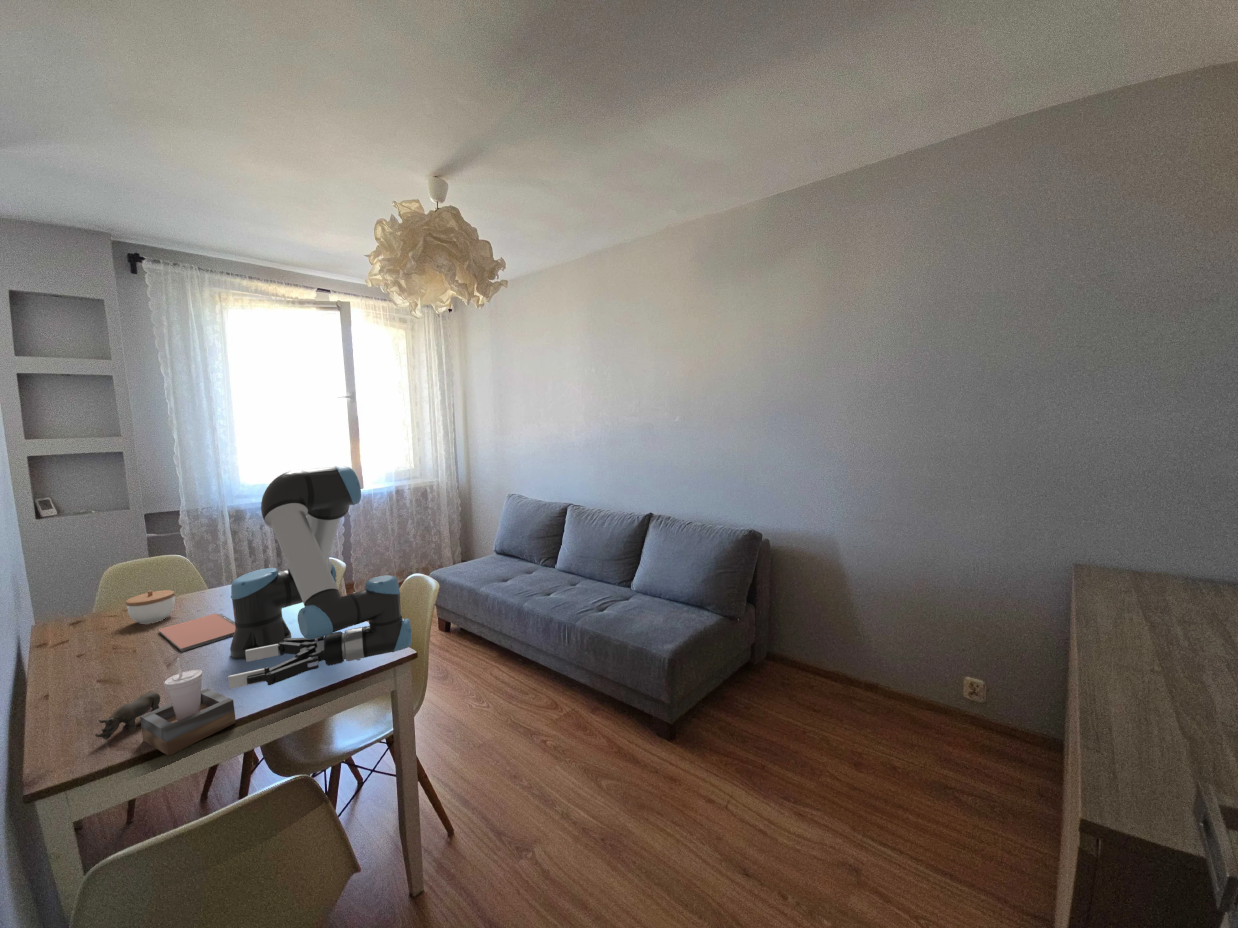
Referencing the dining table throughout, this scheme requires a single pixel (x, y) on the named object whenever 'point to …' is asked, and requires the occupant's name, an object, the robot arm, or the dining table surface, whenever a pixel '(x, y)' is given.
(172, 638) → the notebook
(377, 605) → the robot arm
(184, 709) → the smoothie
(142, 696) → the rhino figurine
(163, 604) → the lidded bowl
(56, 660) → the dining table surface
